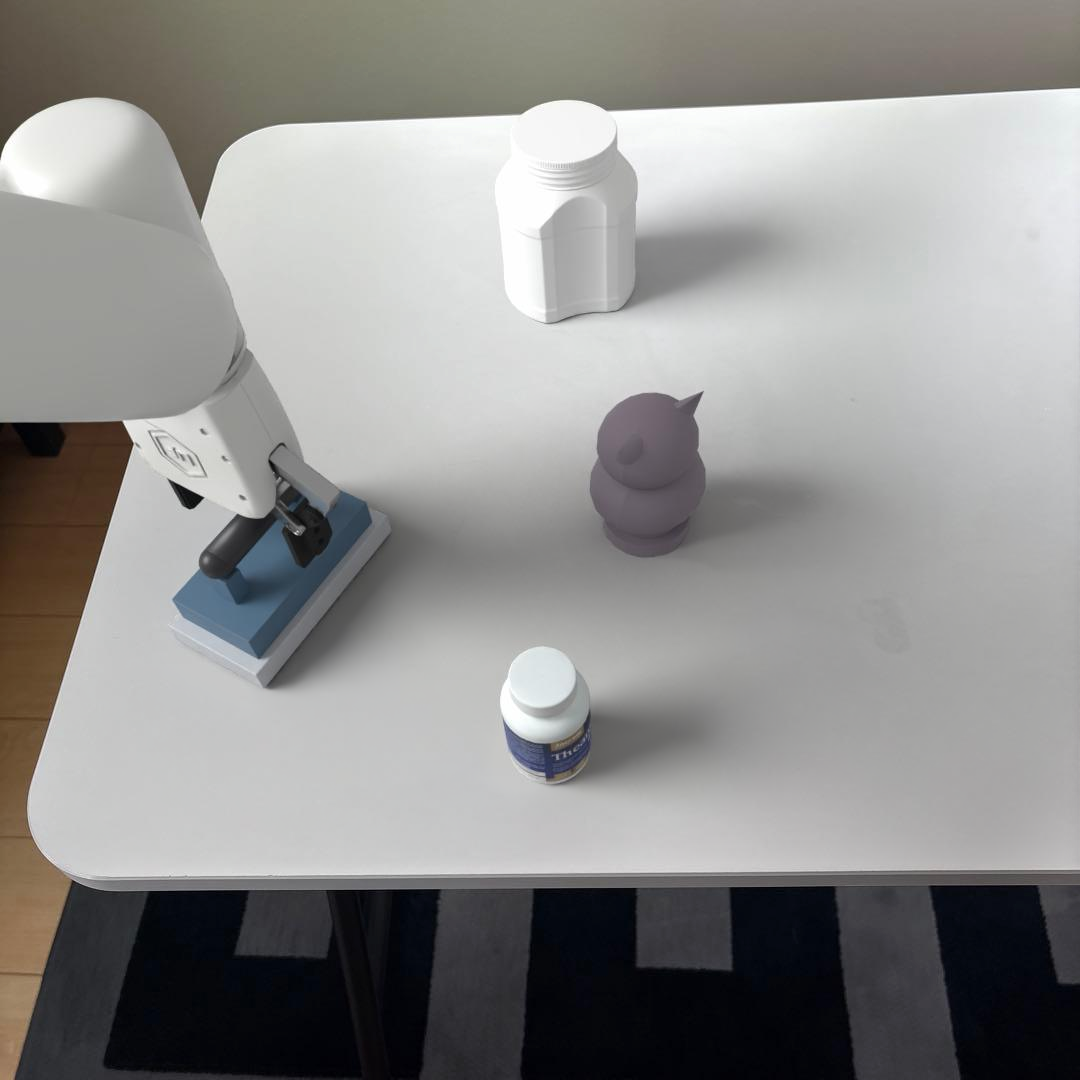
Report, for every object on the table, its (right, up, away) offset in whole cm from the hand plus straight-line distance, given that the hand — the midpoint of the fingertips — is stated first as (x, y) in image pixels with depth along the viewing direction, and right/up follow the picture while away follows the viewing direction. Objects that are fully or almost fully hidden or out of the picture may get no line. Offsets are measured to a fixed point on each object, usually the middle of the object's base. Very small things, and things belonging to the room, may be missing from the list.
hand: (257, 521), depth 71 cm
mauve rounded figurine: (+27, 0, +8) cm, 28 cm away
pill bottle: (+20, -15, -2) cm, 24 cm away
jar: (+21, +22, +23) cm, 38 cm away
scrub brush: (+1, -4, +6) cm, 8 cm away
